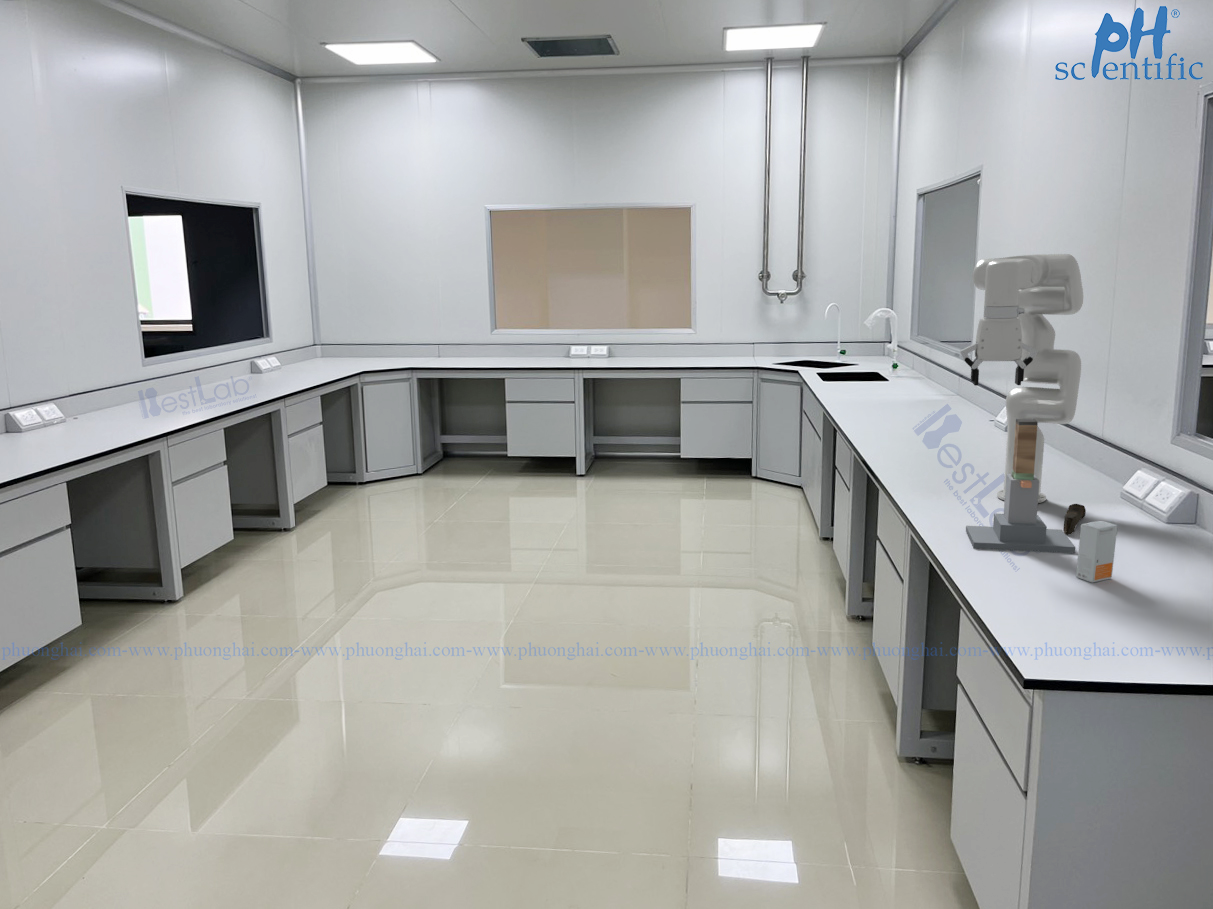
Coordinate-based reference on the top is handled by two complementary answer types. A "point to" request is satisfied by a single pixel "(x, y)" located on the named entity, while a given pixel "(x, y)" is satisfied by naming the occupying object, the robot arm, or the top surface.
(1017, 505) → the stand base
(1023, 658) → the top surface
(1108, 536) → the skincare box
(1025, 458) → the post
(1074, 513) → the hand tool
